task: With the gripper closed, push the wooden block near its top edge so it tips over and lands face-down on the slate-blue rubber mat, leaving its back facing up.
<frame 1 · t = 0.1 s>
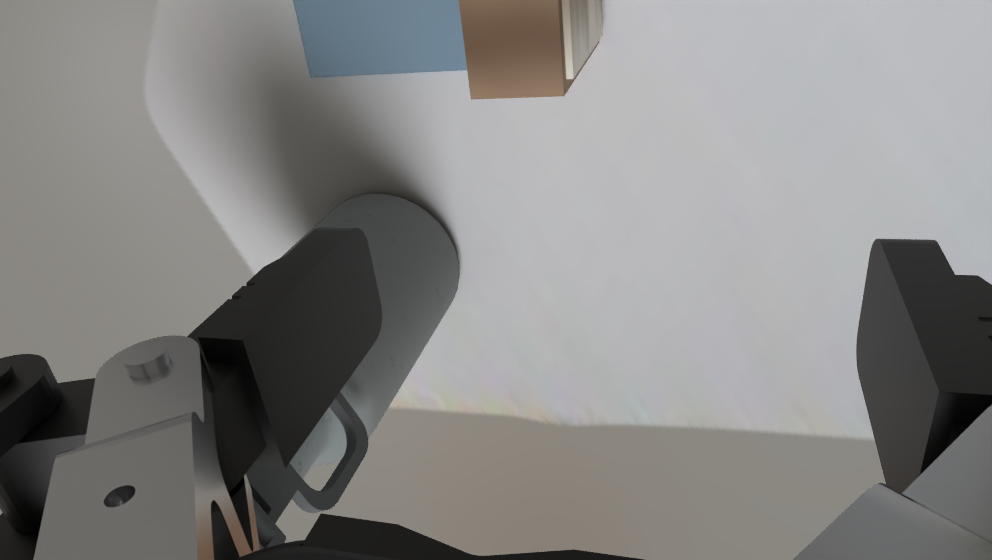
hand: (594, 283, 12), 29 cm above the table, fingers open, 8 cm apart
water bottle: (396, 254, 48), on the table
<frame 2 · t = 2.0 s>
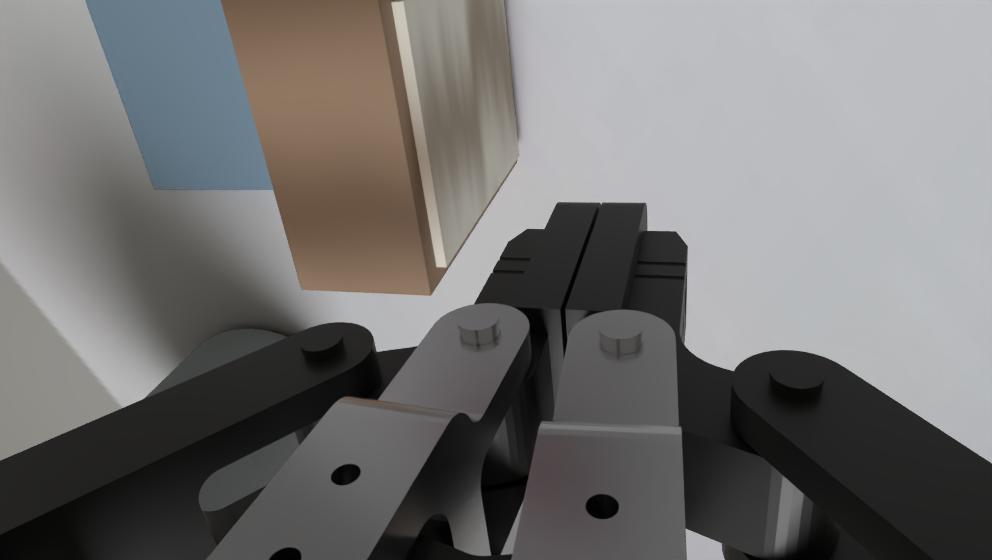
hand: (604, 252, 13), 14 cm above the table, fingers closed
water bottle: (285, 394, 39), on the table
wooden block: (454, 59, 27), on the table
rubber mat: (242, 70, 29), on the table
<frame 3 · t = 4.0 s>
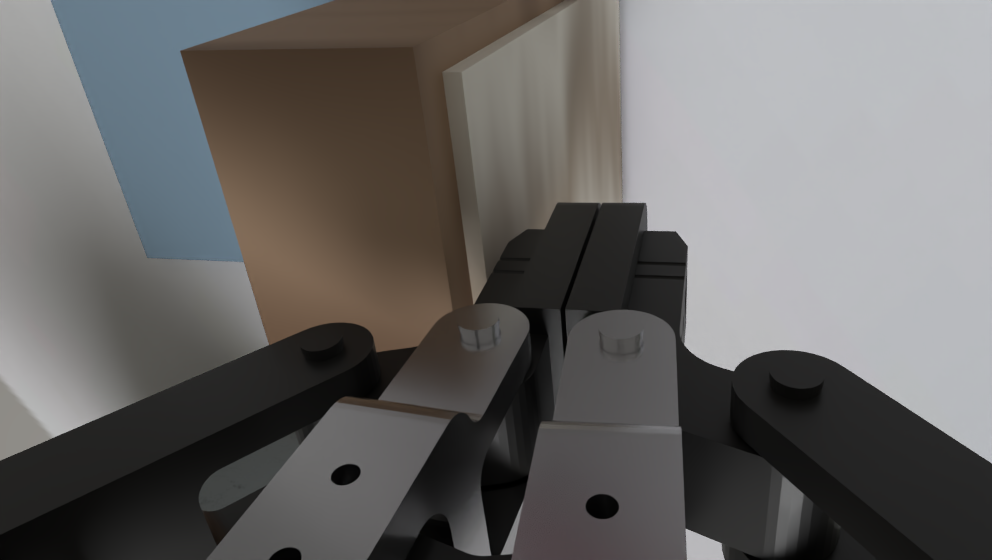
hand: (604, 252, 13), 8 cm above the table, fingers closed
water bottle: (304, 495, 32), on the table
wooden block: (544, 112, 20), on the table, tilted 8°
rubber mat: (262, 116, 23), on the table
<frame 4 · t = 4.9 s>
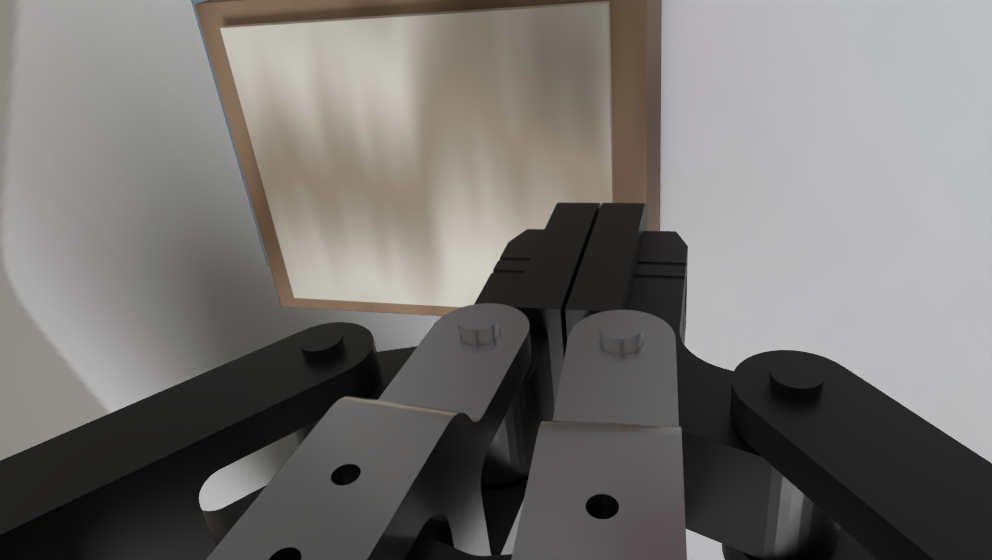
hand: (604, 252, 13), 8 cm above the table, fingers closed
wooden block: (654, 140, 17), point 2 cm above the table, tilted 90°, touching rubber mat
rubber mat: (411, 115, 21), on the table
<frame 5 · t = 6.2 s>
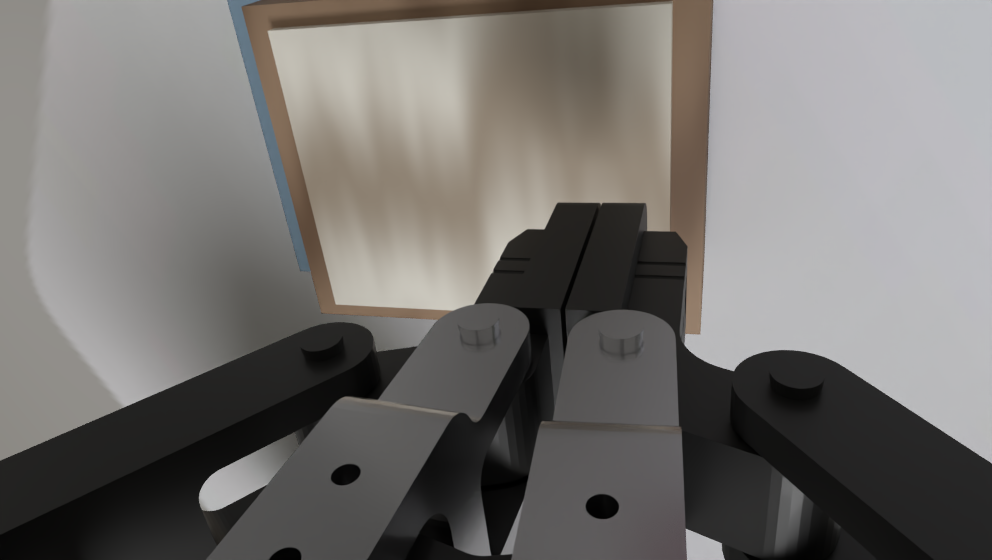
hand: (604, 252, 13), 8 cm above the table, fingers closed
wooden block: (707, 142, 17), point 2 cm above the table, tilted 90°, touching rubber mat
rubber mat: (450, 118, 21), on the table
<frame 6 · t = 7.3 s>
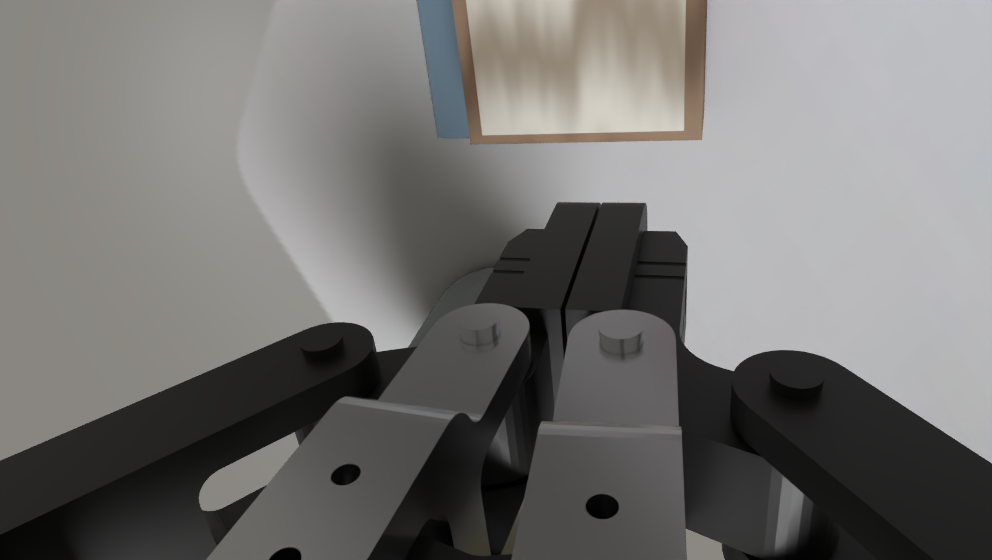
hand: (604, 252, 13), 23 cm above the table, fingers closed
water bottle: (519, 331, 43), on the table
wooden block: (705, 29, 30), point 2 cm above the table, tilted 90°, touching rubber mat
rubber mat: (546, 28, 34), on the table
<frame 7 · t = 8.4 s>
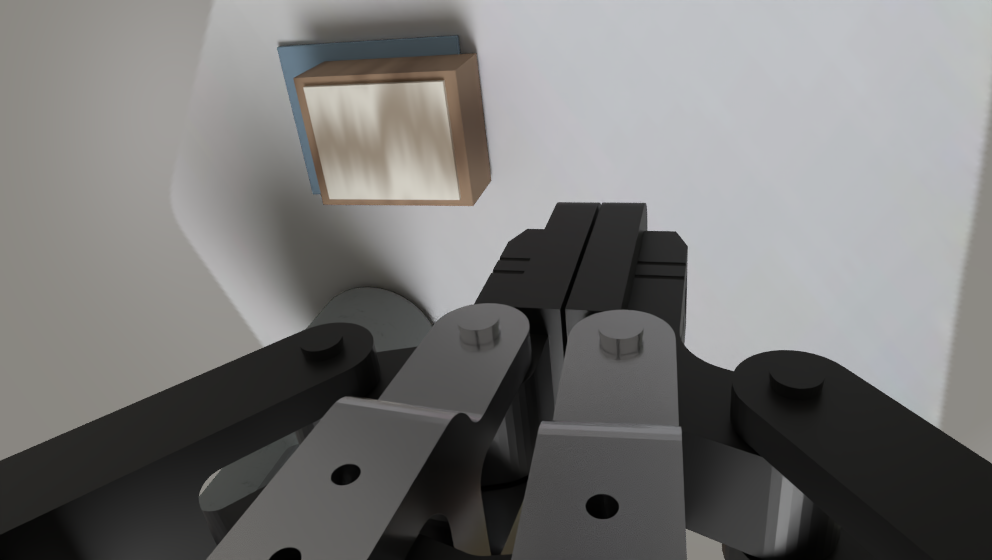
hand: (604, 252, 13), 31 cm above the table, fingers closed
water bottle: (386, 335, 56), on the table
wooden block: (474, 130, 43), point 2 cm above the table, tilted 90°, touching rubber mat
rubber mat: (380, 120, 47), on the table
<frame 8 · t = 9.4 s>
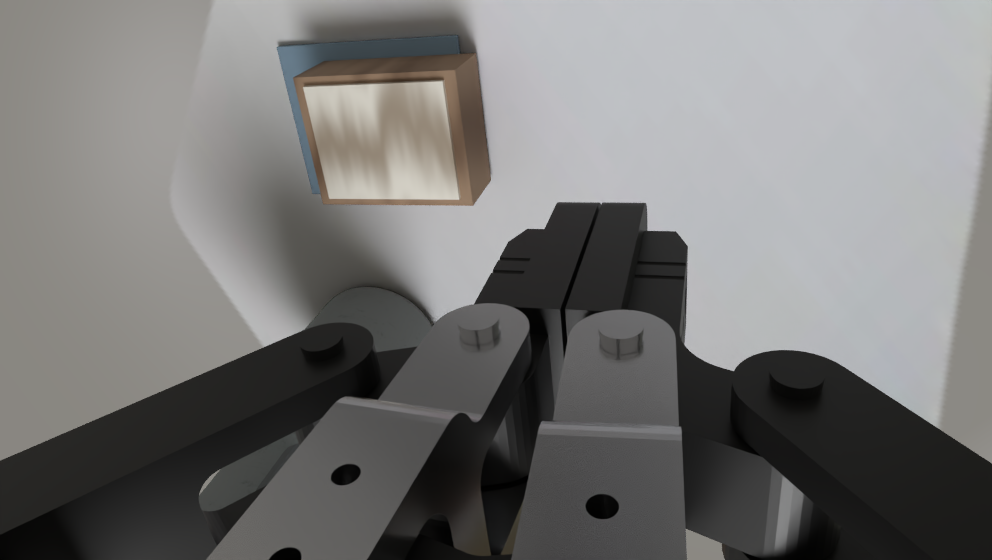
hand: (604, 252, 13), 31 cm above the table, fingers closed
water bottle: (386, 334, 56), on the table
wooden block: (474, 129, 43), point 2 cm above the table, tilted 90°, touching rubber mat
rubber mat: (380, 120, 47), on the table
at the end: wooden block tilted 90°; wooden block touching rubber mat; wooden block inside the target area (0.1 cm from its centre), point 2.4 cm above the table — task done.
